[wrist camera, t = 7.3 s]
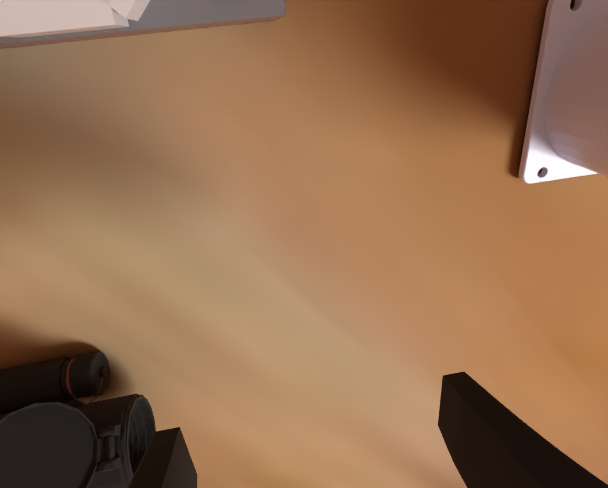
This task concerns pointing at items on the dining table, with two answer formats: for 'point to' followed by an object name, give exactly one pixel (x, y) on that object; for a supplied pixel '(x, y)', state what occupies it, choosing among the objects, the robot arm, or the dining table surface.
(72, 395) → the night vision scope
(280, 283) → the dining table surface
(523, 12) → the dining table surface
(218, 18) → the camera body
